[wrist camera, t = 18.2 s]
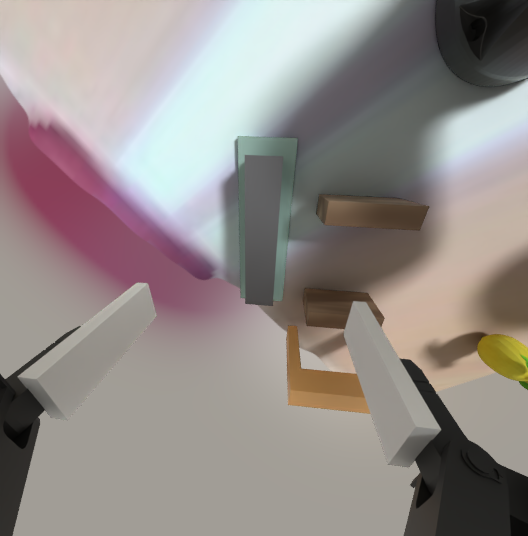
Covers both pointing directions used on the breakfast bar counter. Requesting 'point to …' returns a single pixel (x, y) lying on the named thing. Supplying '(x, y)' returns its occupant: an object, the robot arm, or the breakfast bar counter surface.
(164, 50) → the breakfast bar counter surface
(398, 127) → the breakfast bar counter surface
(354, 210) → the cradle
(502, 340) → the lemon
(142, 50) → the breakfast bar counter surface
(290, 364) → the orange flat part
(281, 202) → the mat
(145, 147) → the breakfast bar counter surface
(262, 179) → the grey rectangular bar
